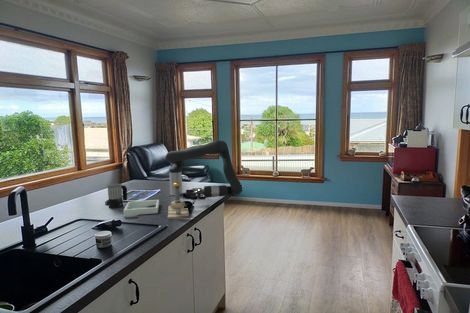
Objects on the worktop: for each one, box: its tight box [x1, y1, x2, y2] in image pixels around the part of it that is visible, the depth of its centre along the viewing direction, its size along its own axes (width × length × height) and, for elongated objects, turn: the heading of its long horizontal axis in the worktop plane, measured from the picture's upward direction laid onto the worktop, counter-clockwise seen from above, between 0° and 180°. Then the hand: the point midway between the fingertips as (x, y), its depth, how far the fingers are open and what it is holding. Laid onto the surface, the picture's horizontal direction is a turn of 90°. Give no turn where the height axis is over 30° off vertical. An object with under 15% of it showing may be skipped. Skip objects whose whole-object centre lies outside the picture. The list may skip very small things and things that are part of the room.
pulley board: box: [167, 199, 190, 220], centre depth 191 cm, size 25×12×9 cm, turn 11°
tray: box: [123, 199, 160, 218], centre depth 195 cm, size 19×19×4 cm
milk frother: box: [104, 183, 128, 209], centre depth 210 cm, size 14×16×15 cm
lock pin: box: [173, 183, 181, 201], centre depth 198 cm, size 5×5×15 cm
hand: (186, 193), depth 199 cm, fingers open, 8 cm apart
